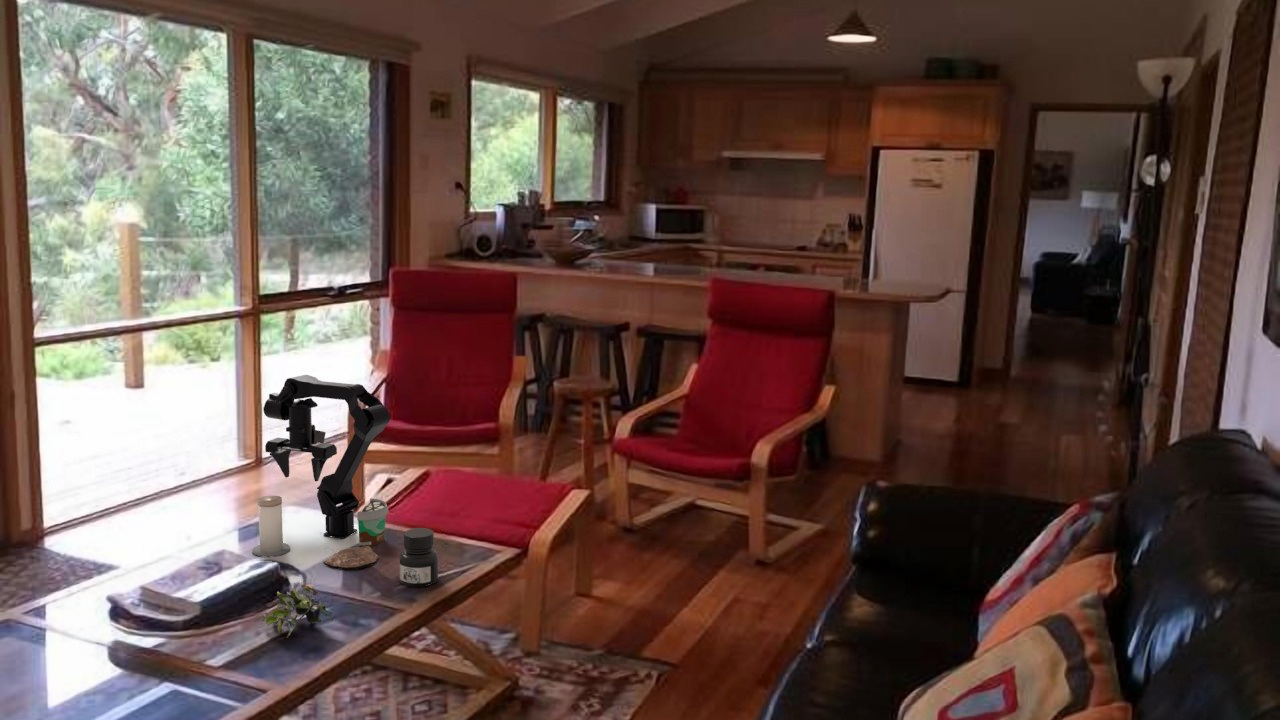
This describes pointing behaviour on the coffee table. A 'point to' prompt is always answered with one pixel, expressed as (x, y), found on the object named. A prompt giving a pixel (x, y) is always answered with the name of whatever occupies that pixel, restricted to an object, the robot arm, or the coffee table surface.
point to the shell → (352, 558)
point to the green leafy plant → (297, 608)
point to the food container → (372, 523)
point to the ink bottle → (418, 558)
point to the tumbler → (270, 523)
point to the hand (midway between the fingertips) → (301, 479)
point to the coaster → (258, 552)
